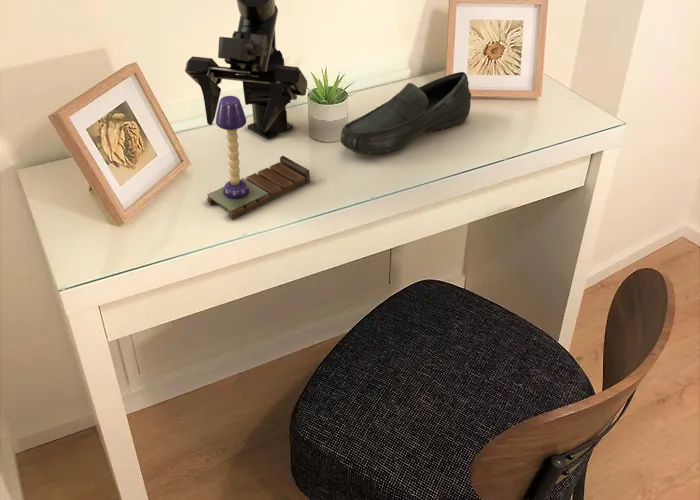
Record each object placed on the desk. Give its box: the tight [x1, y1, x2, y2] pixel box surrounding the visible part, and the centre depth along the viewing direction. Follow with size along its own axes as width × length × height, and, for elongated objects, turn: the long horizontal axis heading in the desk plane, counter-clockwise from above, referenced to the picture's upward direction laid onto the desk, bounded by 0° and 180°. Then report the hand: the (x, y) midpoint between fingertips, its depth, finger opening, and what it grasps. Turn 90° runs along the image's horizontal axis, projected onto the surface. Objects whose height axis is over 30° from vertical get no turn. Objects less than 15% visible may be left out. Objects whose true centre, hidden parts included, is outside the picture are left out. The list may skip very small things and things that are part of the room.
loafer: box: [340, 71, 472, 155], centre depth 140 cm, size 10×29×10 cm, turn 131°
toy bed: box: [206, 155, 311, 221], centre depth 126 cm, size 16×7×2 cm, turn 134°
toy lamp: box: [215, 95, 249, 199], centre depth 119 cm, size 5×5×17 cm
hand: (236, 127), depth 119 cm, fingers open, 9 cm apart
